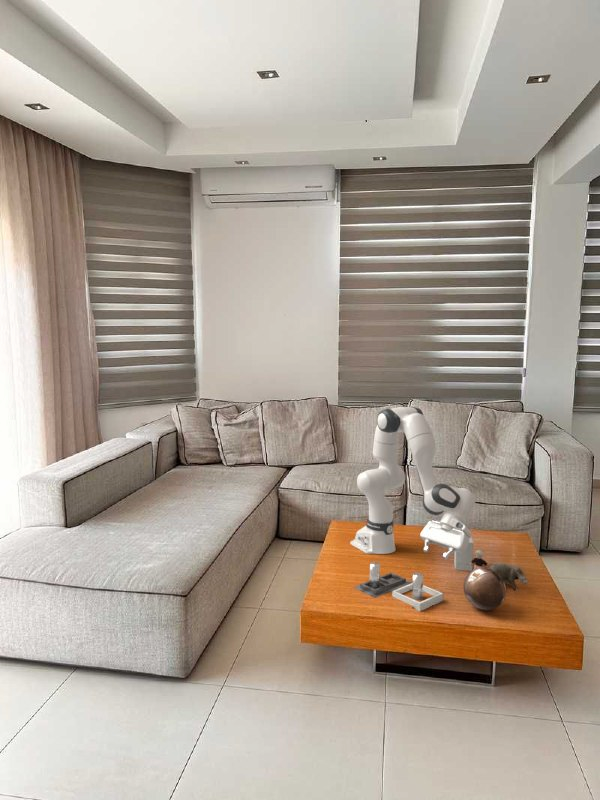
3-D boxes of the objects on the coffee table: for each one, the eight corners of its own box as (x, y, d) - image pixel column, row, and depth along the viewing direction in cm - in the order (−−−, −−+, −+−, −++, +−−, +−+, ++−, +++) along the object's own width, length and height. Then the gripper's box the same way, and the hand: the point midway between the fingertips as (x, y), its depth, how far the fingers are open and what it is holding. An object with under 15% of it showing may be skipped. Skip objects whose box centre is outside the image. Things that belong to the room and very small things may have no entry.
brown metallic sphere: (454, 606, 225) (455, 567, 224) (479, 595, 234) (480, 558, 233) (488, 621, 213) (490, 581, 212) (513, 609, 223) (514, 570, 221)
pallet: (353, 589, 240) (353, 583, 239) (390, 575, 253) (390, 569, 253) (374, 600, 230) (375, 594, 230) (412, 584, 244) (412, 578, 244)
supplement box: (472, 571, 257) (473, 542, 256) (454, 569, 259) (455, 541, 257) (471, 564, 265) (472, 537, 263) (454, 563, 266) (454, 535, 265)
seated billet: (367, 588, 239) (367, 563, 238) (374, 585, 241) (374, 561, 240) (374, 591, 236) (375, 567, 235) (381, 588, 238) (382, 564, 237)
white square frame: (392, 598, 232) (392, 591, 231) (415, 588, 240) (415, 581, 240) (419, 611, 221) (419, 603, 221) (442, 600, 230) (443, 593, 229)
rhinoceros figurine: (485, 570, 252) (506, 548, 244) (512, 595, 247) (534, 572, 239) (478, 578, 245) (500, 555, 238) (506, 603, 240) (529, 581, 233)
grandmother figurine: (468, 580, 248) (469, 550, 247) (469, 576, 252) (470, 547, 250) (487, 582, 246) (489, 553, 244) (488, 579, 249) (489, 549, 248)
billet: (410, 599, 231) (410, 574, 230) (416, 596, 233) (417, 571, 232) (418, 603, 228) (418, 577, 227) (424, 600, 230) (425, 575, 229)
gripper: (426, 514, 246) (410, 543, 241) (469, 527, 230) (452, 558, 225) (433, 523, 249) (417, 551, 244) (475, 536, 234) (459, 566, 229)
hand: (434, 554), depth 235 cm, fingers open, 8 cm apart
